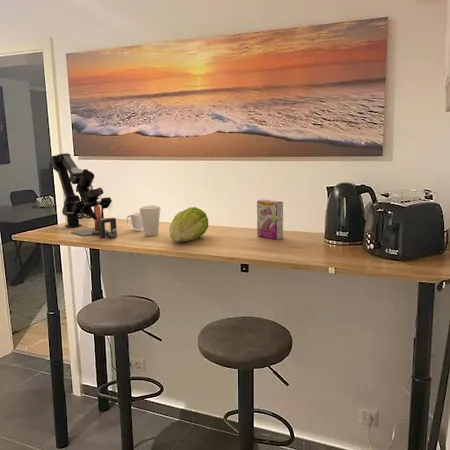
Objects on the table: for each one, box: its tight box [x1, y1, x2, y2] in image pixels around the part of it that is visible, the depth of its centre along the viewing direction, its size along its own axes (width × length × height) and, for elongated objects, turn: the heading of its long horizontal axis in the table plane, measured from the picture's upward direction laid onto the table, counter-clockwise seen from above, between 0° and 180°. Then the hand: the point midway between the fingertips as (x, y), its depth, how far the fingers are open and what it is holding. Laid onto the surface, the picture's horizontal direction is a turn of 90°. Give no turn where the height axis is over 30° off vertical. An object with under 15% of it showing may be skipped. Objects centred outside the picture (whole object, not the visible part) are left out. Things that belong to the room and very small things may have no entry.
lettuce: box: [169, 206, 209, 242], centre depth 213 cm, size 14×24×15 cm
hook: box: [92, 205, 118, 239], centre depth 225 cm, size 17×6×13 cm, turn 45°
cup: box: [126, 212, 144, 232], centre depth 237 cm, size 7×10×8 cm
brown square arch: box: [98, 217, 118, 239], centre depth 223 cm, size 2×8×8 cm, turn 135°
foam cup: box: [139, 204, 161, 237], centre depth 226 cm, size 10×9×13 cm
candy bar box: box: [256, 198, 284, 241], centre depth 214 cm, size 11×5×16 cm, turn 47°
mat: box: [70, 227, 110, 237], centre depth 236 cm, size 12×14×1 cm
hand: (99, 218), depth 227 cm, fingers closed on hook, 3 cm apart
